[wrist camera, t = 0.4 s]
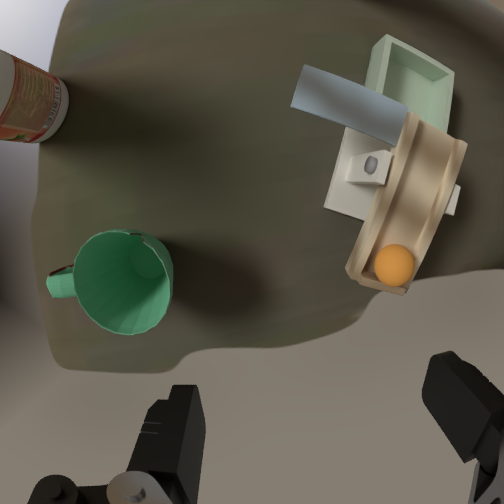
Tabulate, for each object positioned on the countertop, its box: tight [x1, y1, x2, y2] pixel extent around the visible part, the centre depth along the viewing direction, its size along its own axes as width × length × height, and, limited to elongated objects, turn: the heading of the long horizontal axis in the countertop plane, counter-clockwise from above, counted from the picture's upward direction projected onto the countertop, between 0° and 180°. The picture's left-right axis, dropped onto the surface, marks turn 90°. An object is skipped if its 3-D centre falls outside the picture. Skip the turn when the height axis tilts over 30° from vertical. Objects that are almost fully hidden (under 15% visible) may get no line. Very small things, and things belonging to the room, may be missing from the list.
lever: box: [291, 64, 468, 296], centre depth 25 cm, size 17×17×3 cm
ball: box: [374, 244, 415, 287], centre depth 27 cm, size 4×4×4 cm
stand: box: [324, 127, 460, 221], centre depth 29 cm, size 10×12×10 cm
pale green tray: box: [364, 34, 454, 134], centre depth 29 cm, size 10×10×4 cm
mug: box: [46, 229, 173, 335], centre depth 30 cm, size 15×10×10 cm
